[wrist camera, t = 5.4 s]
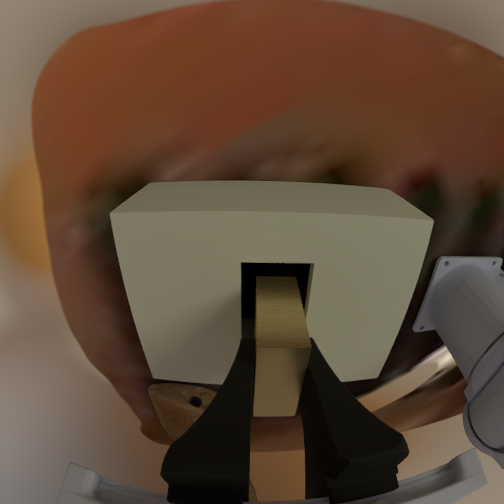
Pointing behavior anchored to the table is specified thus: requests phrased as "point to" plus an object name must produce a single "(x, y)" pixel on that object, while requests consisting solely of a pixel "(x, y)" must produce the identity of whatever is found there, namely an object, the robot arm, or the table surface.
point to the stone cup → (183, 410)
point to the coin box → (266, 251)
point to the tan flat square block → (279, 346)
